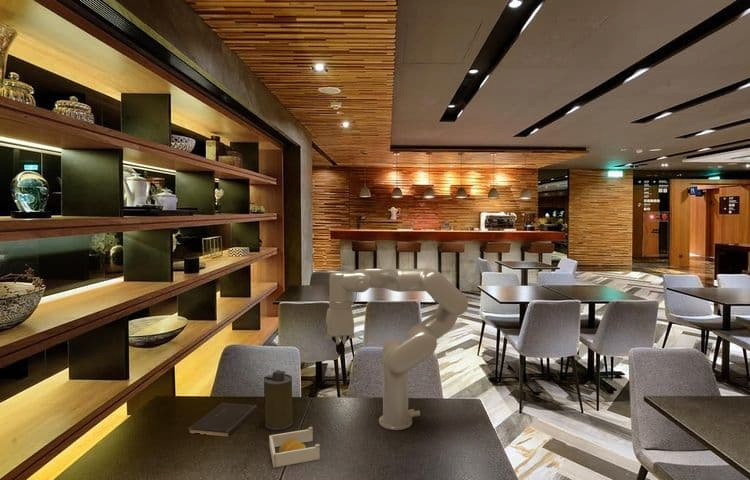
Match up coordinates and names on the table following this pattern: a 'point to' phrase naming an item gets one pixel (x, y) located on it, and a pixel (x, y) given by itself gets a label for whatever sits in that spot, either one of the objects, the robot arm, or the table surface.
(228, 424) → the hardcover book
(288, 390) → the canister
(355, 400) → the table surface
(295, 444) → the bread roll
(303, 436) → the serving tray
